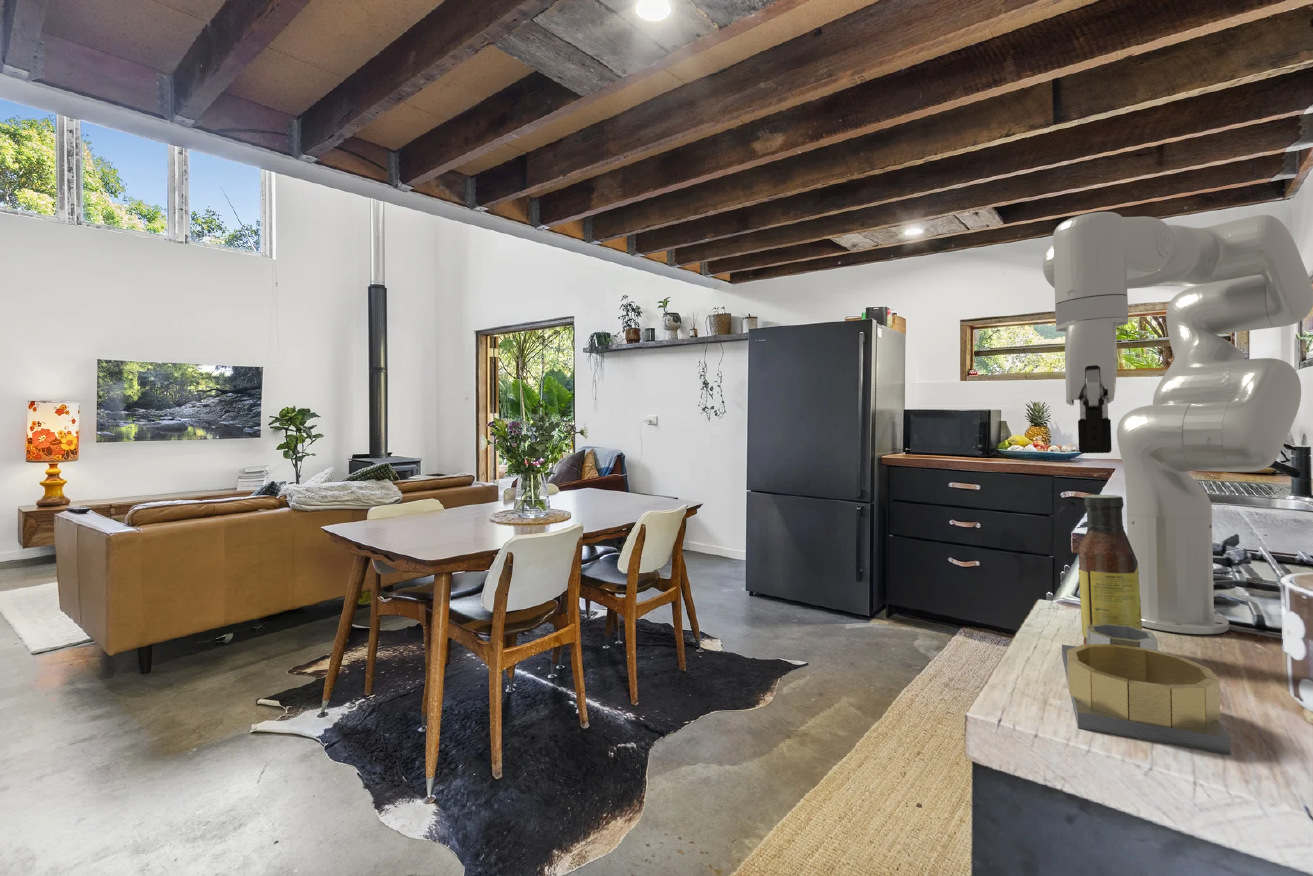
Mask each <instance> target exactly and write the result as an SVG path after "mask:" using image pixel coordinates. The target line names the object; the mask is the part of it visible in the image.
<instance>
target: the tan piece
mask: <svg viewBox="0 0 1313 876" xmlns="http://www.w3.org/2000/svg"><path fill="white" fill-rule="evenodd" d="M1061 658H1062V662H1063V667H1064V671H1065V676H1066V681H1067V686H1068V691H1069V694H1070V698H1071V703H1072V706H1073V707H1072V708H1073V711H1074V717H1075V721H1076V724H1077V729H1082V730H1088V731H1093V732H1099V733H1106V734H1111V735H1116V736H1122V737H1128V738H1133V739H1136V740H1137V739H1138V740H1143V741H1148V742H1156V743H1159V744H1160V743H1161V744H1166V745H1170V746H1171V745H1172V746H1178V747H1181V748H1182V747H1184V748H1186V749H1187V748H1188V749H1193V750H1198V751H1199V750H1200V751H1206V752H1210V753H1216V754H1221V755H1226V756H1227V755H1228V756H1231V755H1232V745H1231V744H1232V743H1231V742H1232V739H1231V737H1230V735H1229V733H1228V732H1227V731H1226V729H1225V728H1224V726H1223V725H1222V723H1221V722H1220V721H1219V719H1221V709H1220V707H1221V704H1220V703H1221V702H1220V679H1219V678H1218V676H1216V674H1215V673H1214V671H1212V670H1211V669H1210V667H1206V666H1204V665H1202V664H1200V663H1197V662H1195V661H1193V660H1190V659H1188V658H1185V657H1182V656H1179V655H1176V654H1175V655H1174V654H1171V653H1167V652H1163V651H1158V637H1156V636H1155V634H1154V633H1153V632H1151V631H1148V630H1145V629H1143V628H1142V629H1139V628H1135V627H1132V626H1126V625H1116V624H1107V623H1101V624H1093V625H1087V645H1084V644H1080V645H1069V644H1061Z"/></svg>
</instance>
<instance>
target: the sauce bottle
mask: <svg viewBox="0 0 1313 876" xmlns="http://www.w3.org/2000/svg"><path fill="white" fill-rule="evenodd" d="M1083 498H1084V499H1083V500H1084V503H1083V504H1084V506H1085V508H1086V520H1087V524H1086V528H1087V530H1086V533H1085V534H1084V537H1083V539H1081V540H1080V543H1079V545H1078V550H1077V552H1078V583H1079V585H1078V586H1079V596H1080V597H1079V598H1080V599H1079V601H1080V615H1081V616H1080V617H1081V620H1080V621H1081V633H1082V636H1083V645H1087V625H1093V624H1101V623H1107V624H1116V625H1126V626H1132V627H1135V628H1139V629H1142V630H1143V626H1142V620H1141V601H1140V586H1139V572H1138V562H1137V559H1136V557H1135V554H1134V552H1133V550H1132V547H1131V545H1130V543H1129V540H1128V538H1127V532H1126V530H1125V527H1124V524H1123V523H1124V522H1123V507H1124V498H1123V496H1121V495H1118V494H1117V495H1115V494H1087V495H1084V497H1083Z"/></svg>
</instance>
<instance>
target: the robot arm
mask: <svg viewBox="0 0 1313 876" xmlns="http://www.w3.org/2000/svg"><path fill="white" fill-rule="evenodd" d="M1049 245H1050V246H1048V248H1047V249H1046V251H1045V253H1044V255H1043V259H1042V273H1043V274H1044V278H1045V279H1046V282H1047V283H1048V284H1049V285H1050V286H1051V287H1052V288H1054V304H1055V305H1054V310H1055V311H1054V312H1055V331H1056V332H1062V333H1063V332H1065V334H1064V335H1065V336H1064V337H1065V338H1064V371H1065V400H1066V401H1065V402H1066V404H1067V405H1069V406H1074V405H1075V401H1079V416H1080V417H1079V420H1077V429H1078V430H1077V434H1078V438H1077V439H1078V452H1079V453H1081V454H1109V453H1112V423H1111V422H1112V420H1111V419H1110V418H1109V409H1108V407H1109V406H1108V405H1109V404H1110V403H1112V402H1114V400H1115V395H1116V394H1115V393H1116V386H1117V374H1118V372H1117V369H1118V368H1117V365H1118V363H1117V361H1118V359H1117V358H1118V357H1117V356H1118V347H1117V341H1118V340H1117V338H1118V337H1117V327H1120V326H1124V325H1127V324H1129V304H1128V303H1129V301H1128V299H1129V298H1128V289H1129V290H1131V289H1145V288H1152V287H1190V288H1187V289H1184V290H1182V291H1181V292H1179V293H1177V294H1176V295H1174V296H1173V297H1172V299H1171V300H1170V302H1169V303H1168V306H1167V308H1166V313H1165V314H1166V315H1165V322H1166V328H1167V329H1166V330H1167V334H1168V335H1167V336H1168V340H1169V344H1170V348H1171V351H1172V353H1173V356H1174V358H1173V361H1172V363H1171V364H1170V366H1169V367H1168V369H1167V370H1166V371H1165V374H1164V375H1163V377H1162V378H1161V380H1160V382H1159V383H1158V385H1157V387H1156V389H1155V391H1154V393H1153V399H1152V404H1151V405H1149V404H1148V405H1145V406H1140V407H1136V408H1134V409H1132V410H1130V411H1128V412H1127V413H1125V414H1124V415H1123V416H1122V418H1121V419H1120V420H1119V422H1118V425H1117V428H1116V440H1117V446H1118V451H1119V455H1120V458H1121V462H1122V466H1123V467H1122V468H1123V473H1124V481H1125V496H1126V500H1125V501H1126V528H1127V529H1126V536H1127V538H1128V540H1129V543H1130V545H1131V547H1132V550H1133V552H1134V554H1135V557H1136V559H1137V562H1138V572H1139V586H1140V601H1141V620H1142V627H1144V628H1149V629H1152V630H1158V631H1164V632H1171V633H1178V634H1187V635H1188V634H1189V635H1190V634H1191V635H1217V634H1223V633H1226V632H1227V631H1229V629H1230V621H1229V620H1228V619H1227V618H1226V617H1224V616H1222V615H1220V614H1217V613H1214V612H1215V611H1214V609H1215V608H1214V604H1215V603H1214V602H1215V601H1214V558H1213V557H1214V555H1213V552H1214V551H1213V550H1214V547H1213V511H1212V510H1213V507H1212V502H1211V500H1210V498H1209V495H1208V494H1207V493H1206V491H1205V489H1204V488H1203V487H1202V486H1201V485H1200V483H1198V482H1197V480H1196V479H1195V478H1193V476H1192V475H1191V474H1190V473H1189V472H1197V471H1198V472H1199V471H1200V472H1229V473H1230V472H1231V473H1237V472H1238V473H1244V472H1245V473H1247V472H1248V473H1250V472H1259V471H1263V470H1266V469H1267V468H1269V467H1270V466H1272V465H1273V464H1274V463H1275V461H1276V460H1277V459H1278V458H1279V456H1280V454H1281V452H1282V449H1283V447H1284V445H1285V443H1286V441H1287V438H1288V435H1289V433H1290V431H1291V429H1292V427H1293V424H1294V421H1295V419H1296V417H1297V414H1298V413H1299V408H1300V405H1301V399H1302V384H1301V379H1300V377H1299V374H1298V372H1297V370H1296V369H1295V367H1294V366H1293V365H1291V363H1288V362H1287V361H1285V360H1282V359H1278V358H1271V357H1263V358H1261V357H1260V358H1259V357H1258V358H1248V359H1246V357H1245V356H1244V354H1243V352H1242V351H1241V350H1240V349H1239V348H1238V347H1237V346H1236V345H1234V344H1233V343H1232V342H1230V341H1229V340H1227V339H1225V338H1223V337H1222V336H1220V335H1224V334H1231V333H1232V334H1233V333H1241V332H1248V331H1255V330H1256V331H1257V330H1265V329H1273V328H1281V327H1288V326H1292V325H1294V324H1295V325H1296V324H1297V323H1300V322H1301V321H1303V320H1305V318H1307V317H1308V316H1309V315H1310V313H1311V311H1312V309H1313V285H1312V282H1311V279H1310V277H1309V274H1308V271H1307V269H1306V267H1305V265H1304V262H1303V260H1302V259H1303V258H1302V256H1301V253H1300V251H1299V249H1298V247H1297V244H1296V242H1295V240H1294V238H1293V236H1292V234H1291V232H1290V231H1289V229H1288V228H1287V226H1285V223H1283V222H1282V221H1281V220H1280V219H1279V218H1277V217H1275V216H1273V215H1269V214H1257V215H1251V216H1249V217H1245V218H1241V219H1236V220H1232V221H1228V222H1224V223H1220V224H1214V225H1210V226H1206V227H1190V226H1184V225H1179V224H1178V225H1177V224H1167V223H1165V222H1164V221H1163V220H1161V219H1160V218H1158V217H1157V218H1156V217H1153V216H1145V215H1143V216H1122V215H1121V214H1119V213H1117V212H1113V211H1097V212H1089V213H1085V214H1081V215H1077V216H1074V217H1071V218H1068V219H1067V220H1064V221H1062V222H1061V223H1060V224H1058V225H1057V226H1056V227H1055V229H1054V231H1053V234H1052V243H1051V244H1049Z"/></svg>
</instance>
